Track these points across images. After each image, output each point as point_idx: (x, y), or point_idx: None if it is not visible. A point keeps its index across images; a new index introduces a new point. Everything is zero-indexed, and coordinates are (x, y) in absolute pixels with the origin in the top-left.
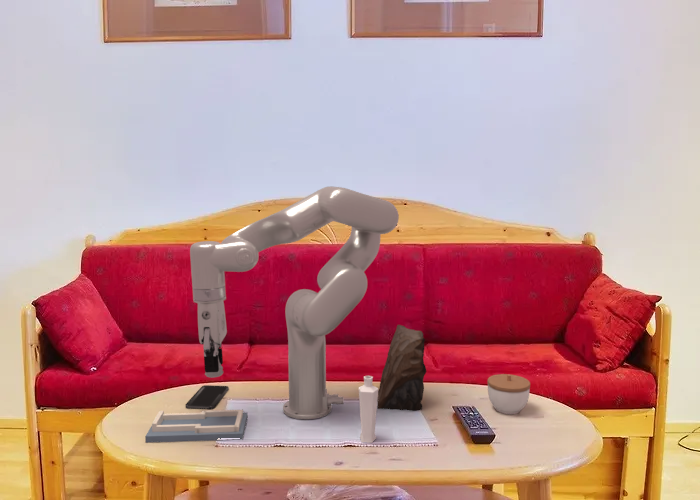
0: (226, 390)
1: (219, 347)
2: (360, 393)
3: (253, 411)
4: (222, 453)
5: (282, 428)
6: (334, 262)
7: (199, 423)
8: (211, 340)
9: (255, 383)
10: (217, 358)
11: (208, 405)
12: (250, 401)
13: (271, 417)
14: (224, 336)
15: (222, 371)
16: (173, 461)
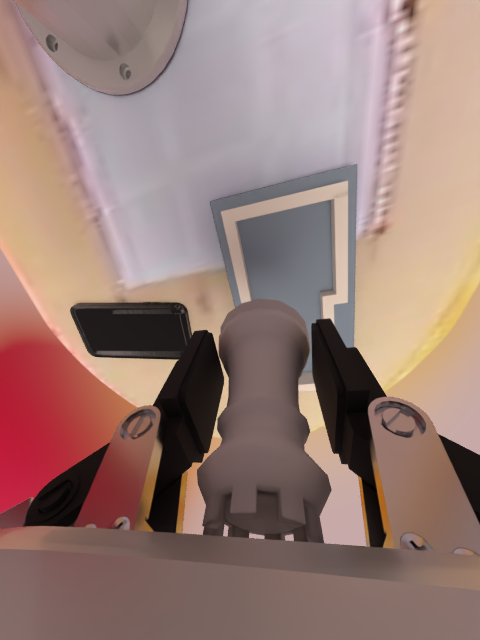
0: (90, 305)
1: (164, 419)
2: None
3: (169, 199)
4: (431, 198)
5: (268, 38)
6: None
7: (290, 304)
8: (153, 528)
9: (14, 253)
10: (359, 373)
11: (177, 317)
12: (114, 230)
13: (193, 121)
14: (162, 588)
15: (253, 305)
16: (448, 301)
